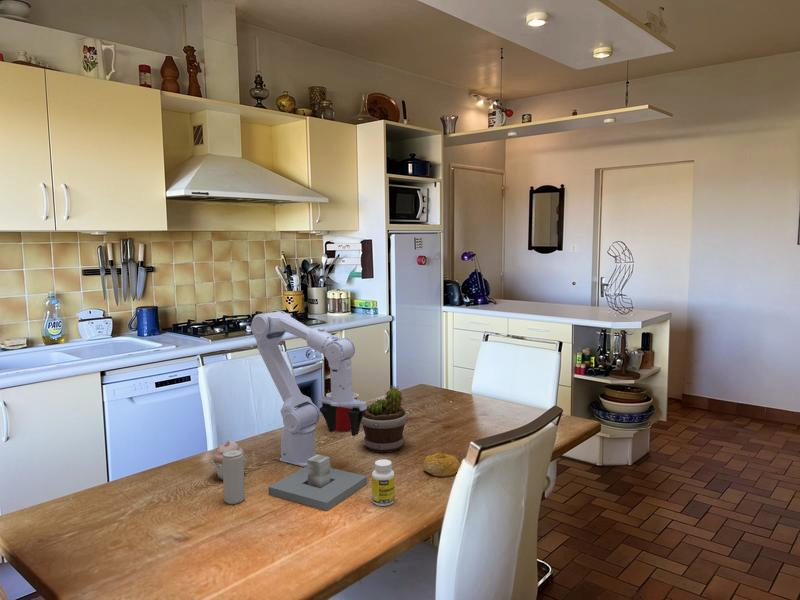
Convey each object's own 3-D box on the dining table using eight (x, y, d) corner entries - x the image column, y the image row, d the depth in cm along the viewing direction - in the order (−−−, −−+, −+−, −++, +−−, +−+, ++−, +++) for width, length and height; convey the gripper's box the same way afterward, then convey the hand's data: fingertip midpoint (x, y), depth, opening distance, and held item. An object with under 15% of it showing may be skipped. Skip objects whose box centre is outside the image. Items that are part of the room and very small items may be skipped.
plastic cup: (365, 426, 193) (365, 392, 191) (346, 436, 184) (345, 399, 182) (340, 421, 199) (339, 387, 197) (320, 430, 189) (319, 395, 188)
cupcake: (205, 476, 153) (203, 440, 152) (236, 466, 160) (235, 431, 159) (223, 486, 147) (222, 448, 146) (255, 475, 154) (253, 439, 153)
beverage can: (239, 505, 136) (237, 457, 135) (220, 504, 137) (218, 455, 136) (248, 497, 141) (246, 449, 140) (230, 495, 142) (228, 448, 141)
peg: (308, 490, 144) (307, 459, 143) (318, 484, 148) (317, 454, 147) (320, 493, 142) (319, 462, 141) (330, 487, 146) (329, 457, 145)
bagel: (468, 468, 157) (468, 451, 157) (444, 482, 149) (444, 464, 148) (439, 460, 163) (439, 444, 163) (415, 472, 155) (414, 455, 155)
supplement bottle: (378, 508, 134) (377, 468, 133) (368, 499, 139) (367, 460, 138) (398, 503, 136) (398, 464, 135) (388, 494, 141) (388, 456, 140)
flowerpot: (351, 452, 169) (349, 386, 167) (373, 436, 183) (371, 375, 181) (396, 459, 164) (395, 391, 162) (415, 441, 178) (414, 378, 176)
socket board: (268, 494, 142) (268, 486, 142) (312, 470, 157) (312, 463, 156) (326, 511, 133) (326, 502, 133) (367, 483, 148) (367, 476, 147)
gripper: (310, 384, 155) (313, 433, 156) (355, 390, 147) (357, 441, 149) (326, 379, 161) (329, 426, 162) (370, 383, 153) (372, 433, 155)
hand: (343, 433), depth 156 cm, fingers open, 7 cm apart
